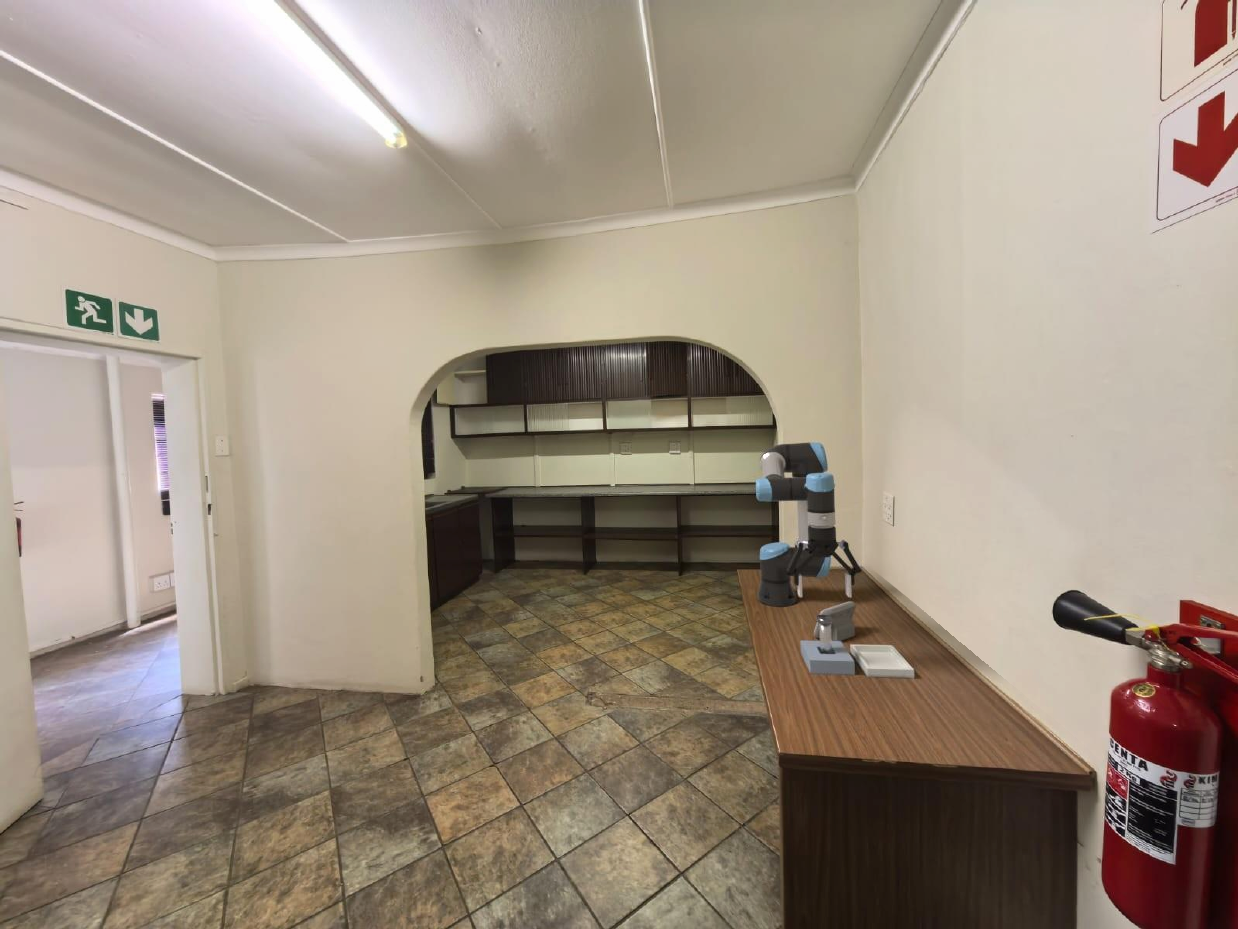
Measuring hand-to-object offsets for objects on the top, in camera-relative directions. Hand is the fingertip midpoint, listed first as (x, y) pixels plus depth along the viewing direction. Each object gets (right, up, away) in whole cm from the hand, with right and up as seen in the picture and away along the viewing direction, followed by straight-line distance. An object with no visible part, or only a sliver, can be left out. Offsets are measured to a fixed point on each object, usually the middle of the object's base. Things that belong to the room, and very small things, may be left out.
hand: (824, 595), depth 131 cm
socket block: (+1, -21, +2) cm, 21 cm away
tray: (+16, -20, -1) cm, 26 cm away
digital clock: (+13, -19, +19) cm, 30 cm away
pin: (+1, -21, +2) cm, 21 cm away
